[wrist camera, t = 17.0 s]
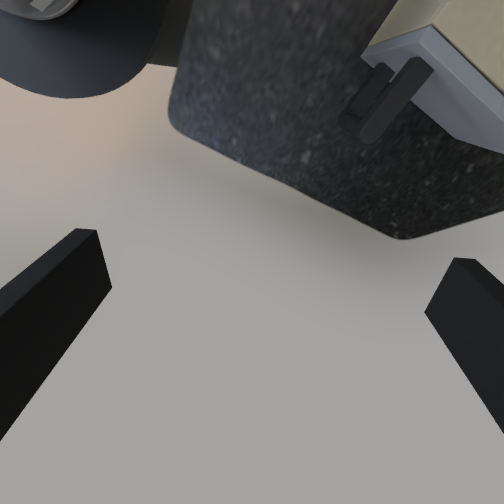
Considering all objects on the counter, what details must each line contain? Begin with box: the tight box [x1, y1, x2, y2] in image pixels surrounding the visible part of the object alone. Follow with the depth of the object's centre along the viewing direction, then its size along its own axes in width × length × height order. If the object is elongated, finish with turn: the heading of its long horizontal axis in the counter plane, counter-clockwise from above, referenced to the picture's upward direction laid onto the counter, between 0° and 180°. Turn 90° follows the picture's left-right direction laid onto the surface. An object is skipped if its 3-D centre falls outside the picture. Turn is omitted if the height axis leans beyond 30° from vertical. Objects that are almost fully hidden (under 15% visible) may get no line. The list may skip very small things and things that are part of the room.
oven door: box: [337, 26, 504, 154], centre depth 27 cm, size 7×15×14 cm, turn 58°
